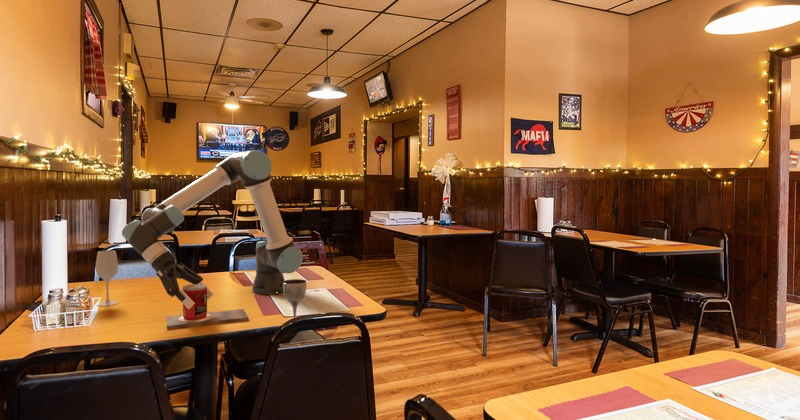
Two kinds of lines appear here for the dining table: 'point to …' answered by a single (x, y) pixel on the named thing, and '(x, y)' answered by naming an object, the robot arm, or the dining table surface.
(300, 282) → the wine glass
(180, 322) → the serving board
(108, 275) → the wineglass
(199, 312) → the canned food
